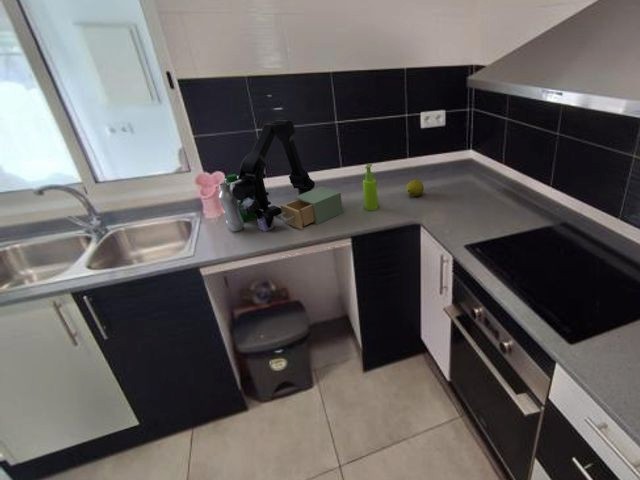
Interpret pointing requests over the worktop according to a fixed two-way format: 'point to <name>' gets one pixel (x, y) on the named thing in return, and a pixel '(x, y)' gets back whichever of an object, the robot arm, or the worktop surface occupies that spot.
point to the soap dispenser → (370, 190)
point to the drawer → (297, 213)
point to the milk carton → (232, 180)
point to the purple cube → (264, 224)
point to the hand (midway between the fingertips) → (266, 226)
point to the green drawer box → (323, 203)
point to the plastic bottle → (230, 208)
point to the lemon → (415, 188)
